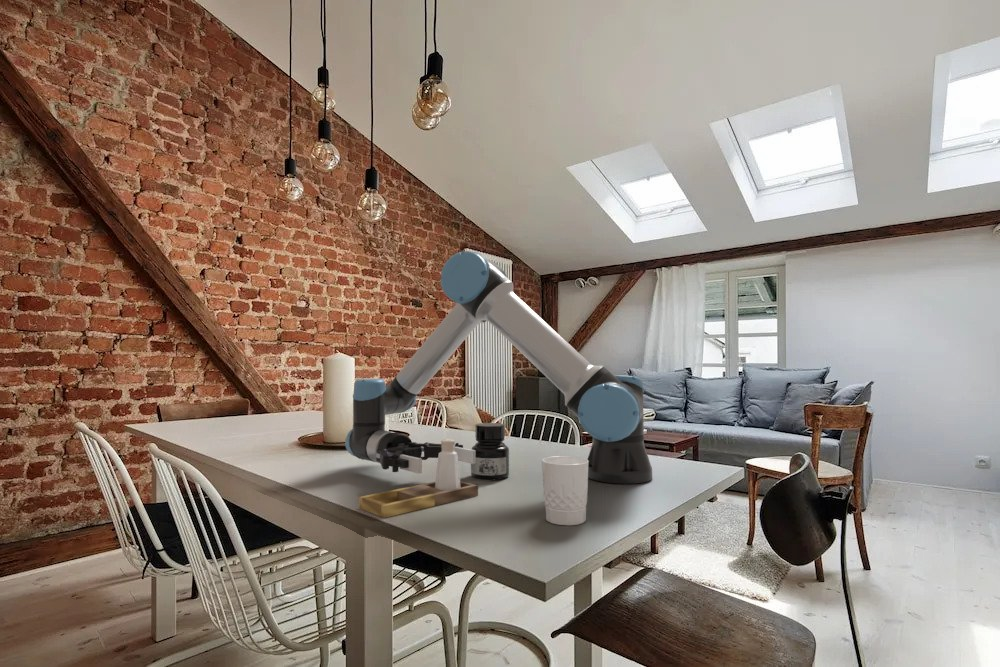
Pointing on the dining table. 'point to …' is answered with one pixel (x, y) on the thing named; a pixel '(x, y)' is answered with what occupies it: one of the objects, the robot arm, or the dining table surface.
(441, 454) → the pepper shaker
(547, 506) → the white cup
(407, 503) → the rail
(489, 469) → the ink bottle
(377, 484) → the dining table surface
